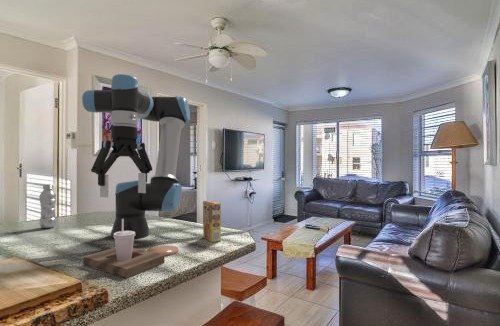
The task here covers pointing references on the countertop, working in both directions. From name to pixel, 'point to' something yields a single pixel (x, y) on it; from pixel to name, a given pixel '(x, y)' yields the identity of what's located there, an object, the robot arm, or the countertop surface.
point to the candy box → (212, 221)
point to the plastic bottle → (47, 207)
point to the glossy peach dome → (164, 250)
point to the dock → (127, 268)
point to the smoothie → (124, 244)
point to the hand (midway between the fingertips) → (124, 194)
